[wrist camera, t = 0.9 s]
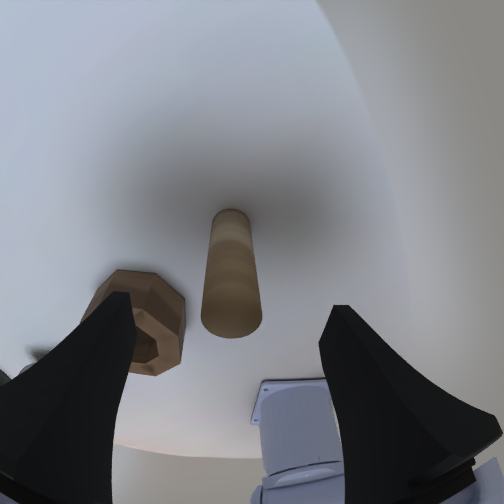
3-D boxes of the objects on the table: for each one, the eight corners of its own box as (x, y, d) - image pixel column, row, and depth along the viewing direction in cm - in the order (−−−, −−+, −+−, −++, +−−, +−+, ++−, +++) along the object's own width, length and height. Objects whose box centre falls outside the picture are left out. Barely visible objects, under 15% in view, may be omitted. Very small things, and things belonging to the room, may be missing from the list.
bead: (186, 343, 21) (182, 379, 18) (109, 333, 20) (97, 366, 17) (184, 275, 18) (176, 312, 15) (92, 267, 17) (72, 299, 14)
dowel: (247, 244, 17) (257, 339, 11) (210, 242, 17) (200, 336, 10) (252, 210, 16) (266, 296, 10) (213, 207, 16) (200, 292, 9)
